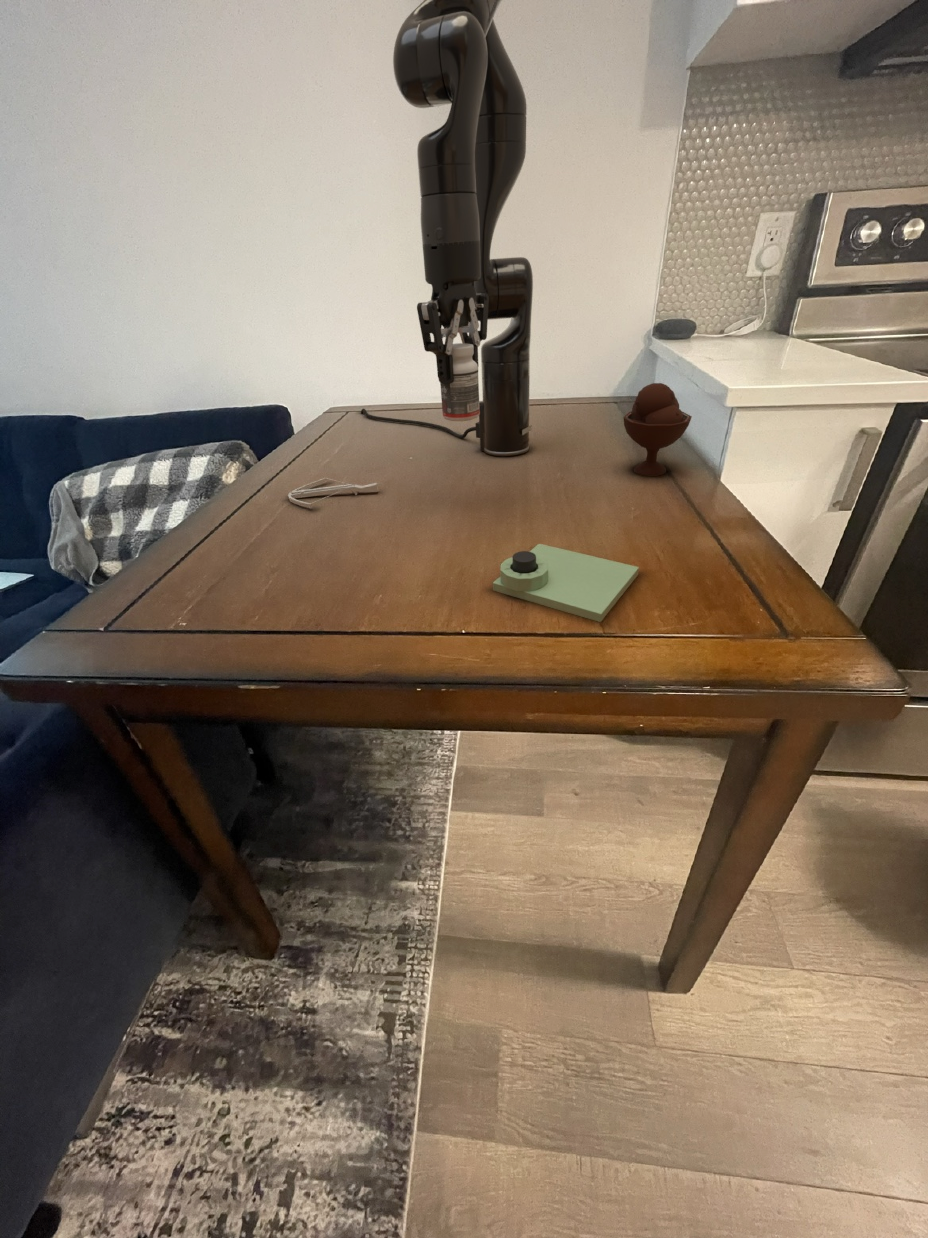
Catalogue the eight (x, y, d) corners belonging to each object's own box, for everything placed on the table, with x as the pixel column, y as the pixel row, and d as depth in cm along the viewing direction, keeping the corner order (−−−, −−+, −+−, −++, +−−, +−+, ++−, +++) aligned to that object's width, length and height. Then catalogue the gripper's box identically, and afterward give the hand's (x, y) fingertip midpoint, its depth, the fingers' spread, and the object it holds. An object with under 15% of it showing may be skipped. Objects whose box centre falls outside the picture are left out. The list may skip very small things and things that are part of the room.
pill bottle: (442, 414, 85) (436, 344, 80) (478, 411, 86) (475, 341, 80) (443, 423, 81) (438, 349, 75) (481, 420, 81) (478, 346, 75)
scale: (491, 592, 67) (490, 570, 65) (538, 551, 75) (539, 531, 73) (599, 624, 60) (601, 601, 58) (638, 575, 68) (641, 553, 66)
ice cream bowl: (686, 481, 93) (702, 388, 84) (618, 480, 95) (628, 389, 86) (679, 461, 101) (693, 374, 93) (617, 460, 103) (625, 376, 95)
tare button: (508, 571, 65) (508, 558, 64) (519, 561, 67) (519, 548, 66) (528, 577, 64) (529, 563, 63) (539, 566, 66) (540, 554, 65)
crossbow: (281, 516, 92) (278, 505, 91) (299, 489, 103) (296, 478, 102) (374, 505, 91) (371, 493, 90) (382, 478, 102) (380, 468, 101)
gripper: (459, 239, 77) (465, 368, 87) (393, 243, 68) (408, 387, 77) (504, 236, 73) (506, 371, 83) (441, 238, 64) (451, 390, 73)
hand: (459, 378), depth 80 cm, fingers closed on pill bottle, 5 cm apart
